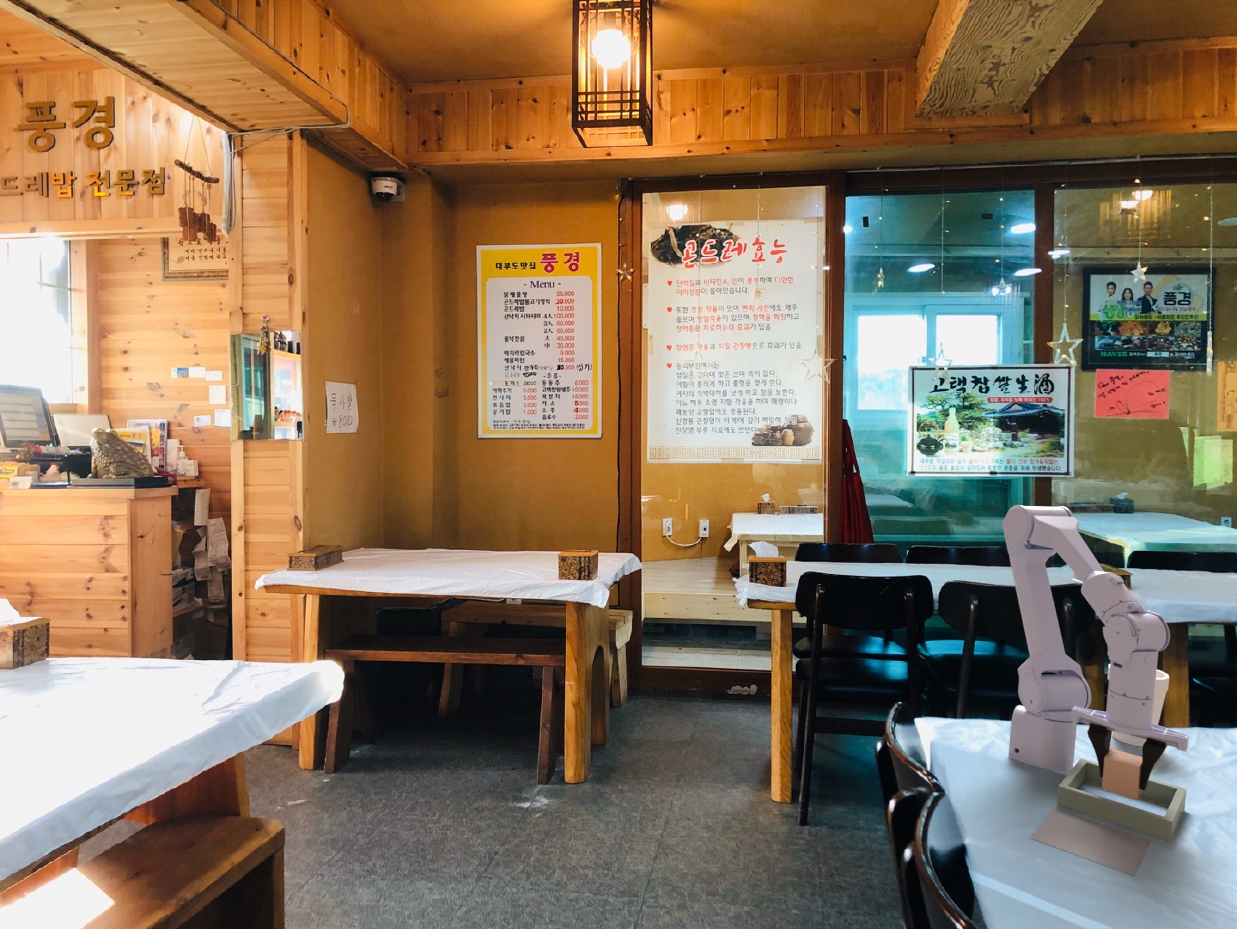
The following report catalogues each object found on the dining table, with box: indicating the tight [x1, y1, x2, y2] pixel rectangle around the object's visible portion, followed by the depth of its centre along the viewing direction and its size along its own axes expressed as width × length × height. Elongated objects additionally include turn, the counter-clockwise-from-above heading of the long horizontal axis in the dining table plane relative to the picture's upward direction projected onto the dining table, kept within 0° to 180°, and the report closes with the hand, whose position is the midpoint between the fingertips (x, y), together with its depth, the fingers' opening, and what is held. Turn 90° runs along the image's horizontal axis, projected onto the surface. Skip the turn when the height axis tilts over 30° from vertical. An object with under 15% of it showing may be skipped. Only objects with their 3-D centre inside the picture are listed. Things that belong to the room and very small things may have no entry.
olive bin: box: [1056, 758, 1187, 842], centre depth 116 cm, size 14×14×4 cm
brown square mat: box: [1029, 807, 1151, 877], centre depth 106 cm, size 12×12×1 cm
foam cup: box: [1107, 663, 1170, 747], centre depth 144 cm, size 10×9×13 cm
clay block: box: [1101, 748, 1142, 801], centre depth 116 cm, size 4×4×5 cm
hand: (1123, 781), depth 116 cm, fingers closed on clay block, 4 cm apart
